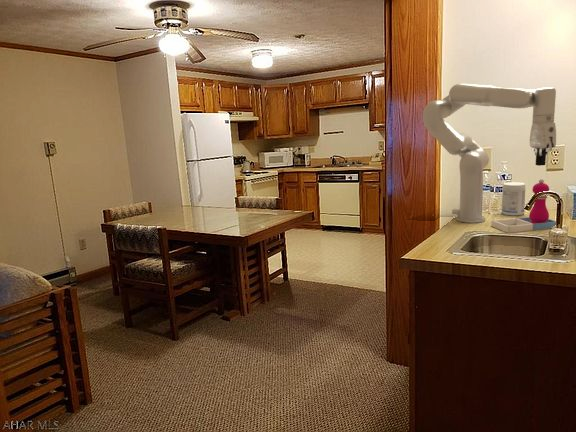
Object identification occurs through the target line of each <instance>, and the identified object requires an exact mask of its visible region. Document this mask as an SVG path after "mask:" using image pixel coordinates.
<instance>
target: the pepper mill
mask: <svg viewBox="0 0 576 432" xmlns="http://www.w3.org/2000/svg"><path fill="white" fill-rule="evenodd" d="M543 191H549V192H550V187H549V185H548V184H547V183H545V181H544V179H543V178H542V179H541V178H540V179H539V180H538V182H537V183H535V184H534V185H533V186H532V193H534V194H533V196H534V195H535V194H537V193H539V192H543ZM546 195H547V194H546ZM546 195H545V196H541V197H539V198H538V199H537V200H536V201H535V200H534V201H535V203H534V202H533V206H532V208H531V210H530V212H529V215H528V217H530V219H531V220H532V221H531V222H530V223H533V224H536V223H547V222H546V221H547V220H548V219H550V213H549V211H548V208H547V205H546V202H547V199H548V195H547V196H546Z"/></svg>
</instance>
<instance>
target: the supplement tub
mask: <svg viewBox="0 0 576 432" xmlns="http://www.w3.org/2000/svg"><path fill="white" fill-rule="evenodd" d="M525 202H526V183H525V182H519V181H511V182H510V181H509V182H504V183H503V184H502V201H501V203H502V205H501V213H502V214H503V215H505V216H514V217H515V216H522V215H524V213H525V209H526V208H525V206H526V205H525V204H526V203H525ZM524 208H525V209H524Z"/></svg>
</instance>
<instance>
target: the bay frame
mask: <svg viewBox="0 0 576 432" xmlns="http://www.w3.org/2000/svg"><path fill="white" fill-rule="evenodd" d="M531 221H532V220H531V219H530V217H529V216H524V217H516V218H515V217H514V218H503V219H493V220H491V221H490V222H491V224H490V226H491V227H493V228H495V229H498V230H500V231H502V230H503V232H505V233H507V234H508V233H517V232H519V233H520V232H529V231H538V230H539V229H540V230H548V229H549V230H550V228H551V227H553V226H555V225H556V221H557V220H554V219H551V218H549V219H548V220H547V221H546V222H547V223H536V224H533V223H530V222H531ZM551 229H552V228H551Z"/></svg>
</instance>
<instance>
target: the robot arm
mask: <svg viewBox="0 0 576 432" xmlns="http://www.w3.org/2000/svg"><path fill="white" fill-rule="evenodd" d="M448 93H449V94H448V95H446V96H445V97H443V99H437V100H436V99H435V100H432V101H429V102H428V103H427V104H426V106H424V109H423V112H422V122H423V125H424V127H425V128H426V130H427V131H428V133H430V135H432V136H433V137H434V138H435V140H437V142H438V143H439V144H440V145H441V146H442V147H443V148H444V149H445V150H446V152H447V153H449V154H450V155H452V156H459V157H460V160H459V164H458V165H459V175H460V179H459V180H460V183H459V187H460V190H459V209H455V208H453V209H452V211H451V213H452V214H453V215H456V216H455V220H456V221H458V222H461V223H468V224H469V223H470V224H477V223H478V224H479V223H484V222H485V221H486V217H485V215H484V216H483V201H484V200H483V196H484V172H483V169H484V168H486V167H488V164H489V155H488V153H487V152H486V151H485V150H484V149H483V148H482V146H480V144H478V143H477V141H475V140H474V139H473V138H472V136H470V135H468V134H466V133H463V132H462V133H461V132H460V133H459V132H458V131H456V130H455V129H454V128H453V127H452V126H451V124H449V123H448V121H445V119H446V118H448V117H450V116H451V115H453V114H454V113H456V112H457V111H459V110H460V109H462V108H463V107H464V106H465V105H470V106H471V105H472V106H480V107H499V108H509V109H526V108H532V121H531V122H532V123H531V129H530V135H529V146H530V148H531V150H532V151H533V152H534V155H535V166H538V167H539V166H545V165H546V161H547V155H548V153H549V152H552V151H553V148H556V147H557V146H556V145H557V128H556V122H555V111H556V97H557V89H556V88H555V87H540V88H537V89H526V88H513V87H509V88H508V87H499V86H494V85H489V84H487V85H486V84H471V83H456V84H454V85H453V86H452V87H451V88H450V90H449V91H448Z"/></svg>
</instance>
